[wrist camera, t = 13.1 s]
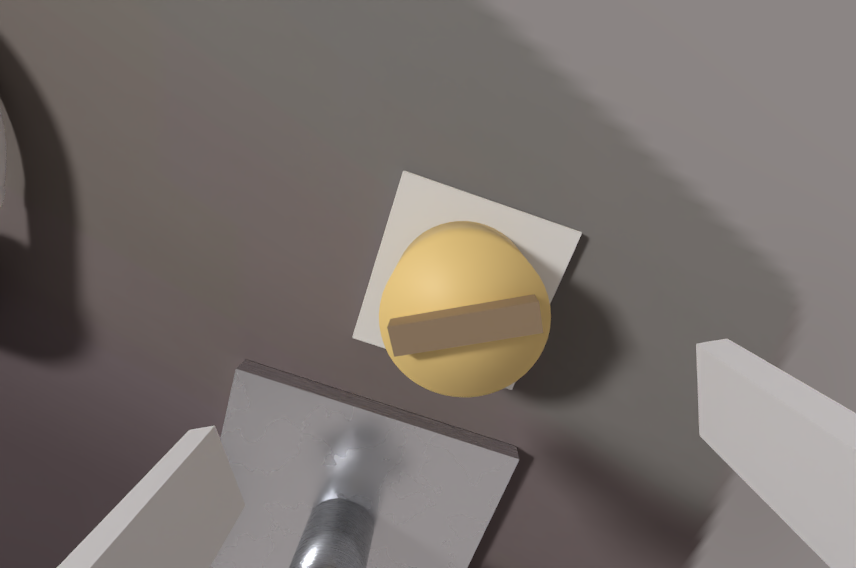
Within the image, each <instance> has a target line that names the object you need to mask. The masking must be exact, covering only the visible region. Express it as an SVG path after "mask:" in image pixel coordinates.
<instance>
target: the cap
mask: <svg viewBox="0 0 856 568" xmlns="http://www.w3.org/2000/svg"><path fill="white" fill-rule="evenodd" d="M550 323H551V309H550V303H549V298H548V294H547V291H546V289H545V286H544V284H543V282H542V280H541V278H540V276H539V275H538V274H537V272H536V271H535V269H534V268H533V267H532V265H531V264H530V263H529V262H528V260H527V259H526V258H525V257H524V255H523V254H522V253H521V252H520V250H519V249H518V248H517V247H516V245H515V244H514V243H513V242H512V241H511V240H510V239H509V238H508V237H506V236H505V235H504V234H503V233H501V232H499V231H498V230H496V229H494V228H492V227H490V226H487V225H485V224H481V223H477V222H471V221H454V222H448V223H444V224H440V225H438V226H435V227H433V228H430V229H429V230H427V231H425V232H423V233H422V234H421V235H420V236H418V237H417V238H416V239H415V240H414V241H413V242H412V243H411V244H410V245H409V246H408V247H407V249H406V250H405V251H404V253H403V255H402V257H401V258H400V260H399V262H398V264H397V266H396V267H395V269H394V271H393V273H392V275H391V276H390V278H389V280H388V282H387V284H386V286H385V289H384V291H383V294H382V298H381V302H380V308H379V327H380V332H381V337H382V340H383V343H384V346H385V348H386V350H387V352H388V354H389V356H390V357H391V359H392V360H393V362H394V363H395V364H396V366H397V367H398V368H399V369H400V370H401V371H402V372H403V373H404V374H405V375H406V376H407V377H408V378H409V379H411V380H412V381H414V382H415V383H417V384H418V385H420V386H422V387H424V388H426V389H428V390H430V391H433V392H436V393H439V394H443V395H447V396H454V397H476V396H482V395H487V394H490V393H493V392H496V391H499V390H501V389H503V388H505V387H508V386H509V385H511V384H513V383H514V382H516V381H517V380H519V379H520V378H521V377H522V376H523V375H525V374H526V373H527V372H528V371H529V370H530V369H531V367H532V366H533V365H534V364H535V362H536V361H537V360H538V358H539V357H540V355H541V353H542V351H543V349H544V347H545V344H546V342H547V339H548V335H549V331H550Z"/></svg>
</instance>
